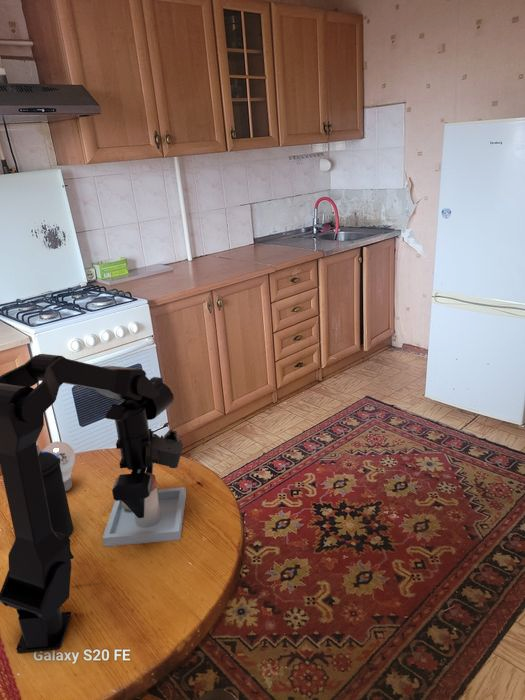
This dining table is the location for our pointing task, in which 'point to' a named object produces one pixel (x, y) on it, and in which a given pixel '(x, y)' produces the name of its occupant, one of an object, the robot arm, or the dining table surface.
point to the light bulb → (63, 460)
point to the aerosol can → (55, 493)
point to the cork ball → (125, 506)
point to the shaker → (150, 507)
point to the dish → (167, 529)
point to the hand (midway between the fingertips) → (145, 502)
